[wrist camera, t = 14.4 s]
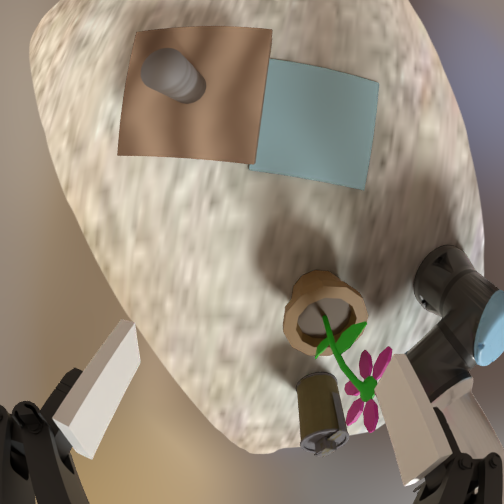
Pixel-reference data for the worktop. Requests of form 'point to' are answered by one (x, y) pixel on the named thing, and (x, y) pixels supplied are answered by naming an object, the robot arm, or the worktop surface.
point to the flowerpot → (335, 334)
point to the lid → (195, 93)
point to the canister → (321, 414)
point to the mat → (316, 124)
